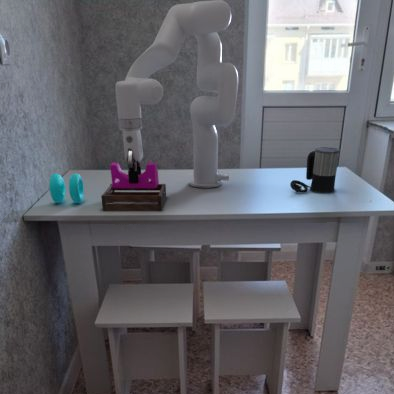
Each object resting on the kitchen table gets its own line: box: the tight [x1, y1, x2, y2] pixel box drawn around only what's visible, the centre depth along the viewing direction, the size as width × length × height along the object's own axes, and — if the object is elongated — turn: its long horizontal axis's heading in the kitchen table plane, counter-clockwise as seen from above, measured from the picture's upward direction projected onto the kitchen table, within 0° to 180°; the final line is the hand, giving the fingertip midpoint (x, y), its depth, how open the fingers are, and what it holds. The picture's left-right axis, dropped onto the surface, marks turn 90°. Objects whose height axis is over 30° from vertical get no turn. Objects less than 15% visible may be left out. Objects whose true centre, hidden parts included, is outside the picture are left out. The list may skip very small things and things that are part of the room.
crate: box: [100, 183, 167, 212], centre depth 171 cm, size 20×17×5 cm
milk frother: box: [289, 146, 341, 194], centre depth 182 cm, size 14×16×15 cm
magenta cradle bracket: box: [109, 162, 160, 188], centre depth 167 cm, size 15×6×8 cm, turn 85°
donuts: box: [49, 173, 85, 204], centre depth 171 cm, size 10×10×10 cm
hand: (135, 180), depth 168 cm, fingers closed on magenta cradle bracket, 6 cm apart
